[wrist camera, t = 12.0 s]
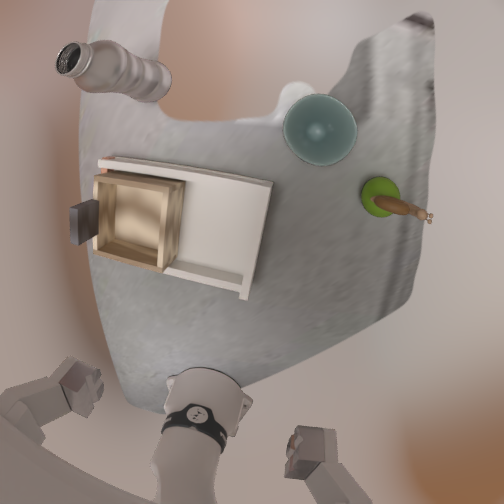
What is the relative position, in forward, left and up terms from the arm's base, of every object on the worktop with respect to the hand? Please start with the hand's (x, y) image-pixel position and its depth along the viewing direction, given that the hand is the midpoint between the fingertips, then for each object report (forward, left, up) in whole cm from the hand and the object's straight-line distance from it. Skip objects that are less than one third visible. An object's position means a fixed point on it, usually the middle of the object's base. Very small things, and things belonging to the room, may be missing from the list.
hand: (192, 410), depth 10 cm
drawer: (-4, +18, -33) cm, 38 cm away
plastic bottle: (+16, +20, -34) cm, 43 cm away
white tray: (-4, +13, -34) cm, 37 cm away
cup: (+12, -4, -34) cm, 37 cm away
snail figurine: (+6, -15, -34) cm, 38 cm away
